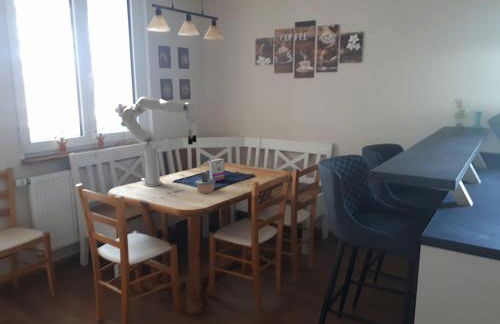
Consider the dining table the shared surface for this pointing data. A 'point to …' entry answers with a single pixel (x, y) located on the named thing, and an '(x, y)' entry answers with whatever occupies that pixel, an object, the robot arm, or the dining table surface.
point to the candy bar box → (217, 169)
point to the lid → (205, 180)
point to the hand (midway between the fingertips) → (192, 143)
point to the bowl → (205, 188)
